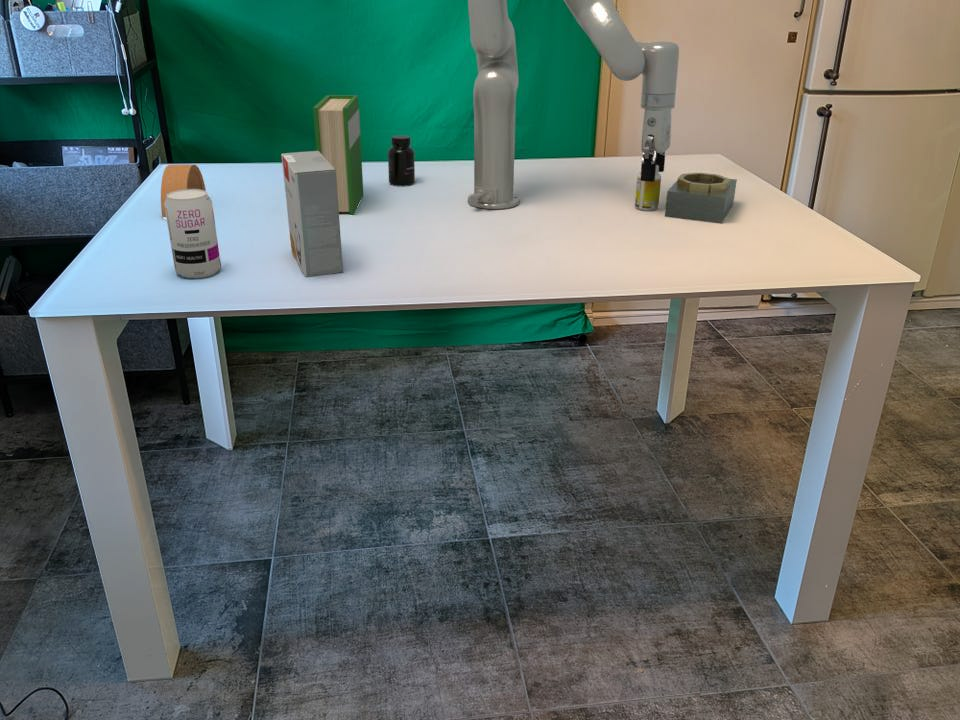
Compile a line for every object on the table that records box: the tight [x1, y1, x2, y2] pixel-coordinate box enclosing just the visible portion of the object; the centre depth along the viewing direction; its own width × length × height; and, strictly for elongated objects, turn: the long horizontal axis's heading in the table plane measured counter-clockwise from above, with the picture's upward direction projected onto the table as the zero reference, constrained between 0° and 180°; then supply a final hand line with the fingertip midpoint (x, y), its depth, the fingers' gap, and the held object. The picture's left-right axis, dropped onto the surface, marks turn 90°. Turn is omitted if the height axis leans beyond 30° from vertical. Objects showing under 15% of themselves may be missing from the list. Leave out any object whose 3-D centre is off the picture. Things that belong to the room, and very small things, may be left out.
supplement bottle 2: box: [634, 165, 662, 212], centre depth 194 cm, size 6×6×10 cm
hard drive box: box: [280, 150, 344, 278], centre depth 156 cm, size 16×8×20 cm, turn 21°
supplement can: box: [164, 189, 222, 280], centre depth 151 cm, size 8×8×15 cm
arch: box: [160, 164, 207, 217], centre depth 191 cm, size 6×20×10 cm, turn 4°
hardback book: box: [312, 94, 364, 216], centre depth 191 cm, size 18×7×24 cm, turn 0°
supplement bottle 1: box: [387, 134, 416, 187], centre depth 212 cm, size 7×7×12 cm
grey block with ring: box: [664, 172, 738, 225], centre depth 195 cm, size 22×13×8 cm, turn 157°
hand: (652, 176), depth 192 cm, fingers open, 9 cm apart
